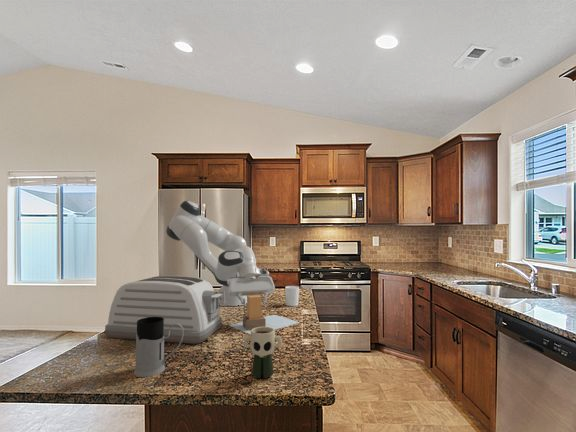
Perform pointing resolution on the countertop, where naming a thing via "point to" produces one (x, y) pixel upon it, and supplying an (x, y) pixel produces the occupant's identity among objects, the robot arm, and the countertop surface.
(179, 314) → the toaster
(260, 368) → the character mug
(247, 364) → the countertop surface
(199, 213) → the robot arm
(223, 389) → the countertop surface
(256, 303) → the orange block
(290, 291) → the white cup
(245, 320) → the walnut plinth
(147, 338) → the glass holder
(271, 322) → the board
